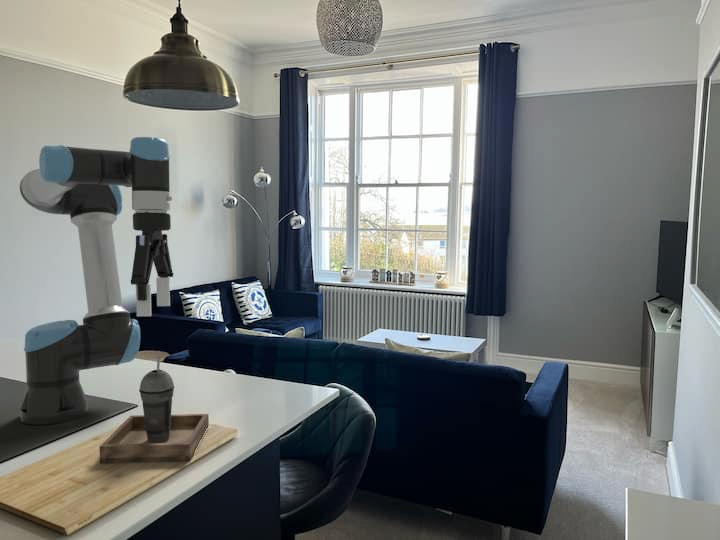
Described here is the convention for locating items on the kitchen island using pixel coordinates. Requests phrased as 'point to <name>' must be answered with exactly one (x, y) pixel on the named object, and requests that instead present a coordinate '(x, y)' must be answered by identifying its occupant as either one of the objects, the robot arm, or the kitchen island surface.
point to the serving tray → (135, 447)
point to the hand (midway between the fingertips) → (154, 310)
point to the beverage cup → (157, 403)
